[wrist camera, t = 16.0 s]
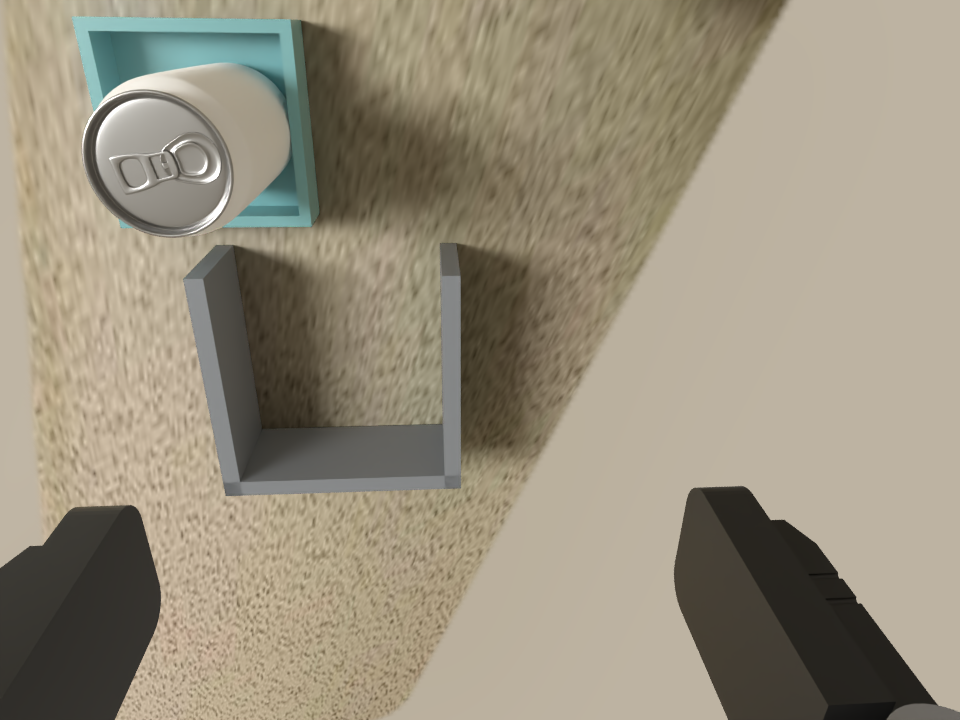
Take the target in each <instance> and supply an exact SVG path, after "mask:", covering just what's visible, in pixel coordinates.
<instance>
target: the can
mask: <svg viewBox="0 0 960 720" xmlns="http://www.w3.org/2000/svg"><path fill="white" fill-rule="evenodd" d="M292 154H293V153H292V144H291V135H290V126H289V117H288V108H287V101H286V99H285V97H284V96H283V94H282V93H281V91H280V90H279V89H278V87H277V86H276V85H275V84H274V83H273V82H272V81H271V80H269V79H268V78H267V77H266V76H264V75H263V74H261V73H260V72H258V71H256V70H254V69H252V68H250V67H247V66H244V65H240V64H235V63H213V64H206V65H200V66H193V67H187V68H181V69H176V70H170V71H164V72H158V73H153V74H148V75H144V76H140V77H136V78H133V79H131V80H128V81H126V82H124V83H122V84H121V85H119V86H117V87H116V88H114V89H113V90H112V91H111V92H110V93H108V94H107V95H106V96H105V98H104V99H103V100H102V101H101V103H100V104H99V106H98V108H97V109H96V110H95V111H94V113H93V114H92V115H91V117H90V119H89V121H88V122H87V125H86V127H85V130H84V134H83V139H82V160H83V165H84V169H85V173H86V176H87V178H88V181H89V183H90V185H91V187H92V189H93V190H94V192H95V194H96V195H97V197H98V198H99V199H100V201H101V202H102V203H103V204H104V205H105V207H106V208H107V209H108V210H109V211H110V212H111V213H112V214H114V215H115V216H116V217H117V218H119V219H120V220H121V221H123V222H124V223H126V224H127V225H129V226H131V227H133V228H135V229H137V230H139V231H141V232H144V233H147V234H150V235H154V236H159V237H169V238H176V237H185V236H198V235H203V234H207V233H210V232H213V231H215V230H217V229H219V228H221V227H223V226H225V225H226V224H228V223H229V222H230V221H232V220H233V219H234V218H235V217H236V216H238V215H239V214H240V213H241V212H242V211H243V210H244V209H245V208H246V207H247V206H248V205H249V204H250V203H251V202H252V201H253V200H254V199H255V198H256V197H257V196H258V195H259V194H260V193H261V192H262V191H263V190H264V189H265V188H266V187H267V186H268V185H269V184H270V183H271V182H272V181H273V180H274V179H275V178H276V177H277V176H278V175H279V174H280V173H281V172H282V171H283V170H284V168H285V167H286V166H287V164H288V162H289V161H290V159H291V156H292Z"/></svg>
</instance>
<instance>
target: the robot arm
mask: <svg viewBox="0 0 960 720" xmlns="http://www.w3.org/2000/svg"><path fill="white" fill-rule="evenodd" d="M674 582H675V590H676V595H677V600H678V603H679V606H680V609H681V612H682V614H683V616H684V618H685V621H686V623H687V625H688V628H689V630H690V632H691V634H692V637H693V639H694V641H695V644H696V646H697V649H698V651H699V653H700V655H701V658H702V660H703V662H704V664H705V667H706V669H707V671H708V674H709V676H710V679H711V681H712V683H713V685H714V688H715V690H716V692H717V695H718V697H719V699H720V702H721V704H722V706H723V709H724V711H725V713H726V715H727V718H728V720H960V712H957V711H955V710H952V709H949V708H946V707H942V706H938V705H937V704H936V702H935V701H934V700H933V699H932V697H931V696H930V695H929V693H928V692H927V691H926V689H925V688H924V687H923V685H922V684H921V683H920V681H919V680H918V679H917V677H916V676H915V675H914V673H913V672H912V671H911V669H910V668H909V667H908V665H907V664H906V663H905V661H904V660H903V659H902V657H901V656H900V655H899V653H898V652H897V651H896V649H895V648H894V647H893V645H892V644H891V643H890V641H889V640H888V639H887V637H886V636H885V635H884V633H883V632H882V631H881V629H880V628H879V627H878V625H877V624H876V623H875V621H874V620H873V619H872V617H871V616H870V615H869V613H868V612H867V611H866V609H865V608H864V607H863V605H862V604H858V603H857V601H856V596H855V595H854V594H853V592H852V591H851V589H850V588H849V587H848V585H847V584H846V583H845V581H844V580H843V579H839V577H838V572H837V571H836V569H835V568H834V567H833V565H832V564H831V563H830V561H829V560H828V559H827V557H826V556H825V555H824V554H823V552H822V551H821V549H820V548H819V547H818V545H817V544H816V543H815V542H813V541H812V540H811V539H809V538H808V537H806V536H805V535H804V534H802V533H801V532H800V531H799V530H797V529H796V528H795V527H793V526H792V525H790V524H789V523H788V522H786V521H785V520H770V519H769V517H768V516H767V515H766V513H765V511H764V510H763V509H762V507H761V506H760V504H759V503H758V501H757V500H756V498H755V497H754V496H753V494H752V493H751V492H750V490H748V489H747V488H746V487H743V486H735V487H707V488H693V489H692V490H691V491H690V493H689V495H688V498H687V502H686V507H685V513H684V518H683V523H682V528H681V534H680V539H679V545H678V550H677V555H676V560H675V567H674ZM160 605H161V591H160V584H159V580H158V577H157V573H156V569H155V566H154V562H153V558H152V554H151V551H150V547H149V543H148V540H147V536H146V532H145V529H144V525H143V521H142V518H141V515H140V513H139V511H138V510H137V508H136V507H134V506H132V505H124V506H94V507H75V508H73V509H71V510H70V511H69V512H68V513H67V514H66V515H65V516H64V518H63V519H62V520H61V522H60V523H59V524H58V526H57V527H56V528H55V530H54V531H53V532H52V534H51V535H50V537H49V538H48V539H47V541H46V542H45V543H44V545H43V546H29V547H28V548H27V549H26V550H24V551H23V552H21V553H20V554H19V555H17V556H16V557H15V558H13V559H12V560H11V561H9V562H8V563H7V564H5V565H4V566H3V567H1V568H0V720H115V718H116V715H117V713H118V711H119V709H120V707H121V704H122V702H123V700H124V698H125V696H126V693H127V691H128V689H129V687H130V685H131V682H132V680H133V678H134V676H135V674H136V671H137V669H138V667H139V665H140V663H141V660H142V658H143V656H144V654H145V652H146V649H147V647H148V645H149V643H150V640H151V638H152V636H153V634H154V631H155V629H156V626H157V623H158V618H159V613H160Z"/></svg>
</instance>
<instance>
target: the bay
mask: <svg viewBox="0 0 960 720" xmlns="http://www.w3.org/2000/svg"><path fill="white" fill-rule="evenodd" d="M440 275H441V339H442V404H443V424H430V425H393V426H355V427H318V428H281V429H262V425H261V419H260V412H259V406H258V400H257V393H256V387H255V381H254V374H253V368H252V362H251V355H250V349H249V343H248V336H247V330H246V324H245V317H244V311H243V305H242V298H241V292H240V286H239V279H238V273H237V267H236V260H235V254H234V248H233V245H216V246H215V247H214V248H213V249H212V250H211V251H210V252H209V253H208V254H207V255H206V256H205V257H204V258H203V259H202V260H201V261H200V262H199V263H198V264H197V265H196V266H195V267H194V268H193V270H192V271H191V272H190V273H189V274H188V275H187V276H186V277H185V278H184V279H183V281H184V286H185V291H186V296H187V301H188V306H189V311H190V316H191V321H192V327H193V332H194V337H195V342H196V347H197V352H198V357H199V362H200V367H201V372H202V377H203V382H204V387H205V393H206V398H207V403H208V408H209V413H210V418H211V423H212V428H213V433H214V438H215V443H216V448H217V453H218V458H219V464H220V469H221V474H222V479H223V484H224V489H225V494H226V496H241V495H271V494H301V493H331V492H361V491H391V490H421V489H451V488H461V276H460V268H459V260H458V252H457V245H456V243H440Z"/></svg>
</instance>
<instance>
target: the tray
mask: <svg viewBox="0 0 960 720" xmlns="http://www.w3.org/2000/svg"><path fill="white" fill-rule="evenodd" d="M72 20H73V24H74V29H75V33H76V37H77V42H78V46H79V50H80V54H81V59H82V63H83V67H84V72H85V76H86V80H87V85H88V89H89V93H90V97H91V102H92V106H93V110H94V111H95V110H96V109H97V108H98V106H99V104H100V103H101V101H102V100H103V99H104V98H105V96H106V95H107V94H108V93H110V92H111V91H112V90H113V89H114V88H116V87H117V86H119V85H121V84H122V83H124V82H126V81H128V80H131V79H133V78H136V77H140V76H144V75H148V74H153V73H158V72H164V71H170V70H176V69H181V68H187V67H193V66H200V65H206V64H213V63H235V64H240V65H244V66H247V67H250V68H252V69H254V70H256V71H258V72H260V73H261V74H263V75H264V76H266V77H267V78H268V79H269V80H271V81H272V82H273V83H274V84H275V85H276V86H277V87H278V89H279V90H280V91H281V93H282V94H283V96H284V97H285V99H286V101H287V108H288V117H289V126H290V135H291V144H292V153H293V154H292V156H291V159H290V161H289V162H288V164H287V166H286V167H285V168H284V170H283V171H282V172H281V173H280V174H279V175H278V176H277V177H276V178H275V179H274V180H273V181H272V182H271V183H270V184H269V185H268V186H267V187H266V188H265V189H264V190H263V191H262V192H261V193H260V194H259V195H258V196H257V197H256V198H255V199H254V200H253V201H252V202H251V203H250V204H249V205H248V206H247V207H246V208H245V209H244V210H243V211H242V212H241V213H240V214H239V215H238V216H236V217H235V218H234V219H233V220H232V221H230V222H229V223H228V224H226V225H225V226H223V227H312V225H313V224H314V222H315V220H316V218H317V217H318V215H319V202H318V192H317V181H316V171H315V161H314V150H313V140H312V130H311V119H310V109H309V98H308V88H307V78H306V67H305V57H304V47H303V36H302V26H301V20H286V19H213V18H139V17H72ZM119 222H120V226H121V228H133V227H131V226H129V225H127V224H126V223H124V222H123V221H121V220H120V219H119Z"/></svg>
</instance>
